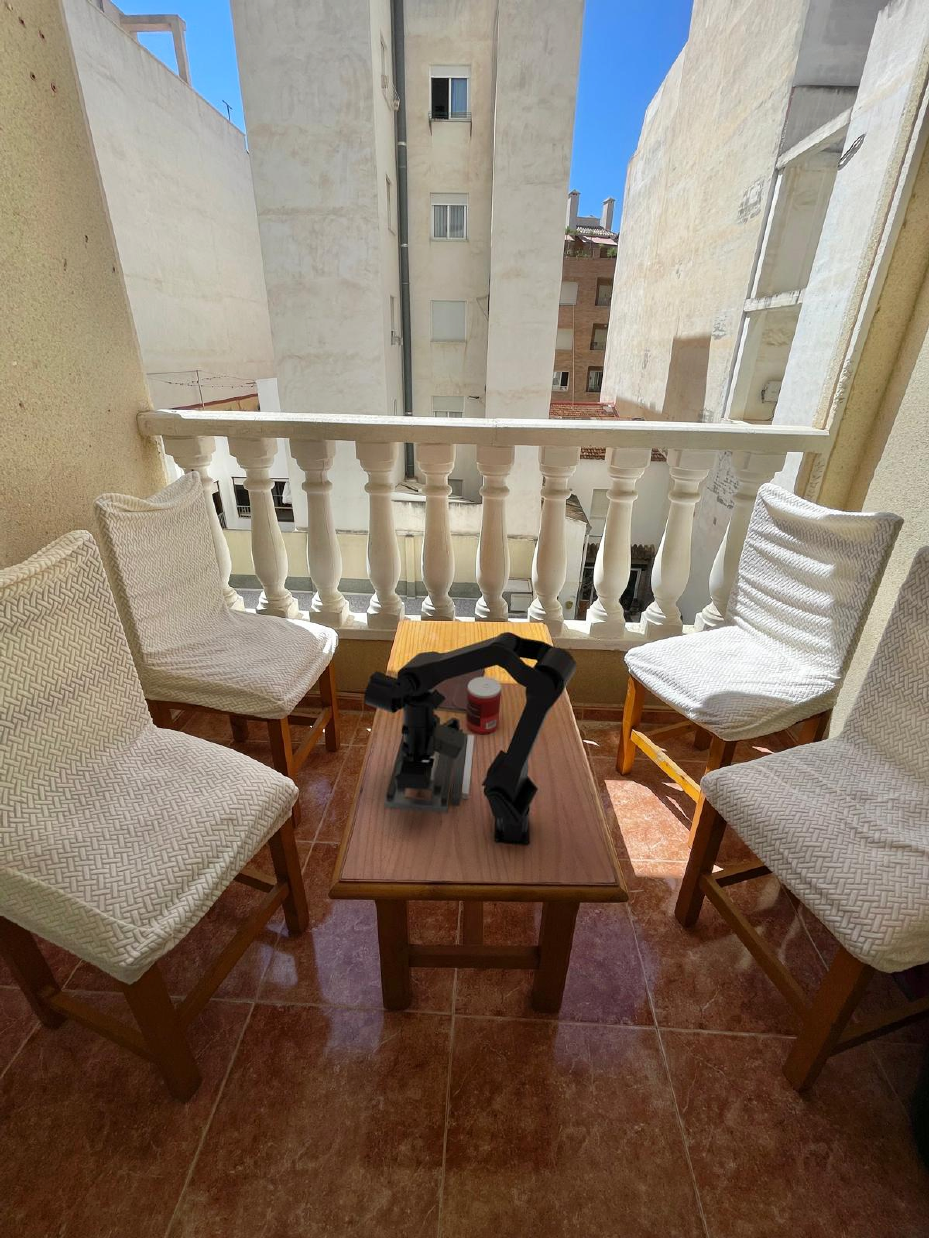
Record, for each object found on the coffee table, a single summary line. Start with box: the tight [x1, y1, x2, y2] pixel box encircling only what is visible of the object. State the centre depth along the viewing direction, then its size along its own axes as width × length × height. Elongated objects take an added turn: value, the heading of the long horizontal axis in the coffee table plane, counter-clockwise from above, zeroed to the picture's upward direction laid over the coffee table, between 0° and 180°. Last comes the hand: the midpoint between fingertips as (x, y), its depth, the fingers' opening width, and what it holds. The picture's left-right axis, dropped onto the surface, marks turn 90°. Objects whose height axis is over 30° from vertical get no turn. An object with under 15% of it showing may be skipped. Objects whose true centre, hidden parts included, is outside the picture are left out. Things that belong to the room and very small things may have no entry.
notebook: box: [431, 668, 486, 715], centre depth 144 cm, size 15×20×2 cm
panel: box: [384, 734, 455, 814], centre depth 117 cm, size 24×12×3 cm, turn 176°
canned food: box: [465, 676, 502, 735], centre depth 129 cm, size 8×8×11 cm
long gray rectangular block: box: [449, 732, 475, 807], centre depth 117 cm, size 20×3×2 cm, turn 176°
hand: (419, 781), depth 109 cm, fingers closed
